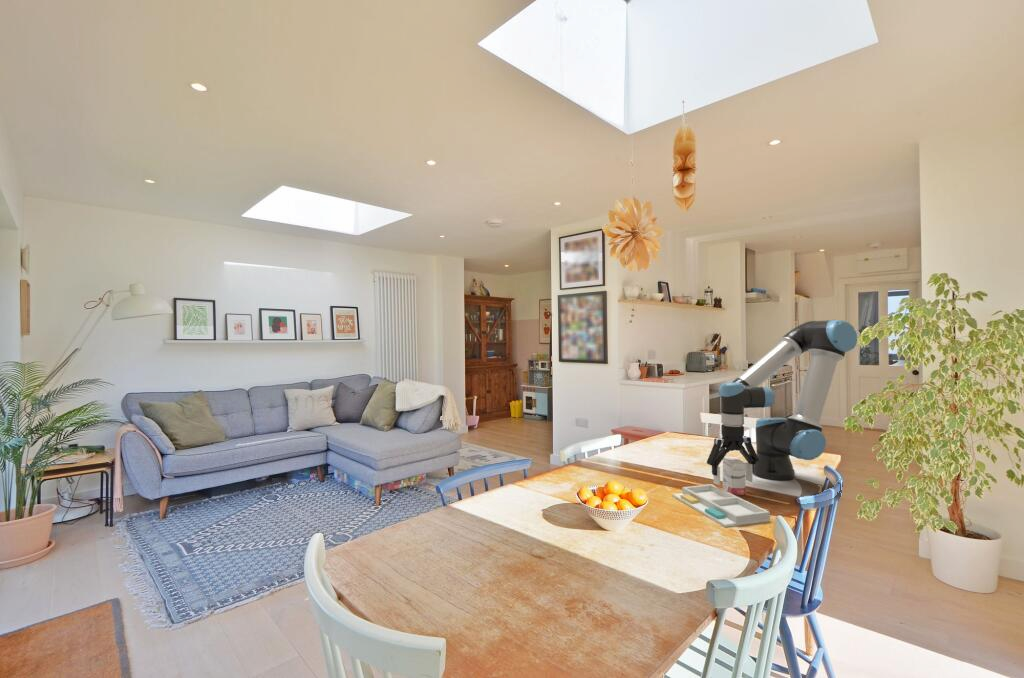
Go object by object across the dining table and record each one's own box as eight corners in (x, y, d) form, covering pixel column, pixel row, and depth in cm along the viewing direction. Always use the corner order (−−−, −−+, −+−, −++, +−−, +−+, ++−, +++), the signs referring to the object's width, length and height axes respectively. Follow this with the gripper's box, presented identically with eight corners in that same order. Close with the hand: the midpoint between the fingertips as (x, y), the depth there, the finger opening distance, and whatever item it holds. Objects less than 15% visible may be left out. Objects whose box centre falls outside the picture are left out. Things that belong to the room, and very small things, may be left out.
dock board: (711, 491, 170) (711, 484, 170) (770, 521, 143) (769, 512, 143) (672, 496, 166) (672, 488, 166) (725, 527, 139) (724, 518, 139)
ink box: (746, 495, 165) (745, 462, 165) (732, 495, 166) (731, 462, 165) (735, 487, 174) (734, 455, 174) (721, 487, 174) (721, 456, 174)
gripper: (754, 421, 176) (754, 476, 176) (696, 424, 170) (696, 482, 171) (769, 424, 169) (769, 482, 169) (709, 428, 163) (709, 488, 163)
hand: (733, 482), depth 170 cm, fingers open, 13 cm apart
